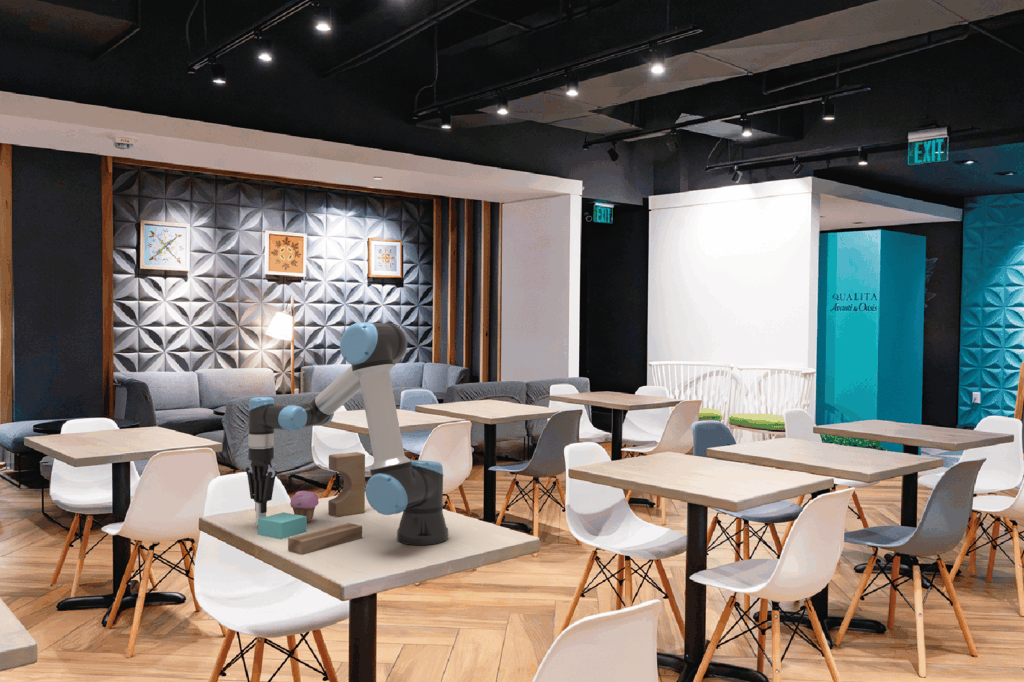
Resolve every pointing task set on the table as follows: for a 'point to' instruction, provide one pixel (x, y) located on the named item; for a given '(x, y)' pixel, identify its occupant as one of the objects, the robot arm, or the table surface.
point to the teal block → (282, 525)
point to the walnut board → (324, 538)
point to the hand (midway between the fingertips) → (260, 522)
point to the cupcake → (304, 504)
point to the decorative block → (348, 484)
